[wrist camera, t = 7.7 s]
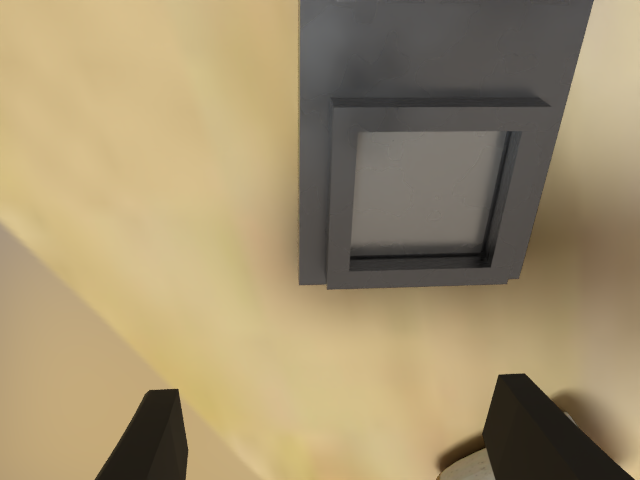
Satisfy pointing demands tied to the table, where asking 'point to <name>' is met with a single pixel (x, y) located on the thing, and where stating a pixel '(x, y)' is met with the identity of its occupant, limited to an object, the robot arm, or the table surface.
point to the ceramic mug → (473, 466)
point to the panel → (427, 135)
